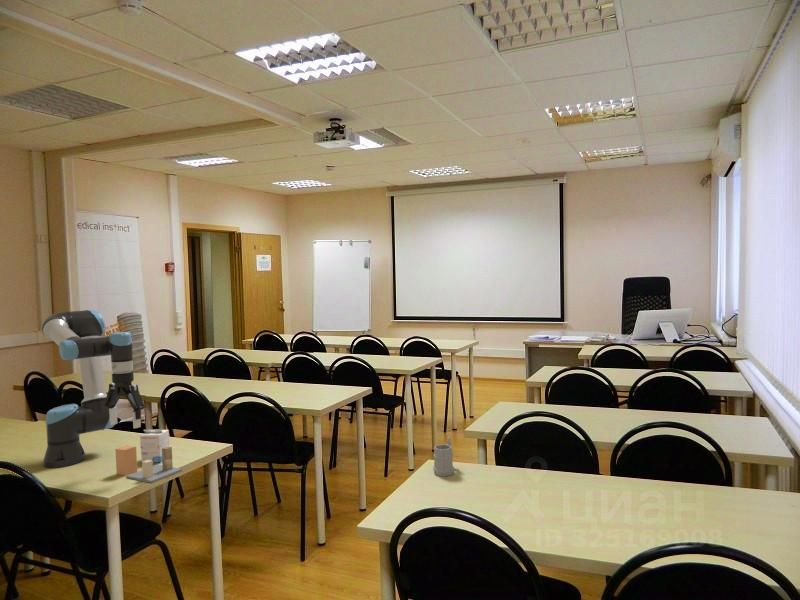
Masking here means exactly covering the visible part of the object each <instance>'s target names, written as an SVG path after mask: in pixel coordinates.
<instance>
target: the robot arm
mask: <svg viewBox="0 0 800 600" xmlns="http://www.w3.org/2000/svg"><path fill="white" fill-rule="evenodd" d="M41 332H42V335H43V336H44V338H46V339H47V340H49V341H52V342H54V343H55V344H56V345H57V346H58V352H59V353H58V354H59V356H60V359H62V360H63V361H66V360H67V361H68V360H71V361H72V360H73V361H74V360H78V362H79V363H78V364H79V370H80V376H81V383H82V390H83V391H82V392H83V397H84V398H83V399H82V400H81V402H80V405H81V406H79V405H78V404H76V403H69V404H62V405H60V406H57V407H53V408H52V409H49V410H48V411H47V412H46V416H45V425H46V426H45V427H46V440H47V442H46V443H47V444H46V446H47V447H46V451H45V454H44V457H43V461H42V464H43V467H45V468H63V467H68V466H73V465H76V464H79V463H81V462H84V461H85V459H86V453H85V450H84V447H83V445H82V444H81V443H82V442H81V441H80V435H82V434H83V435H84V434H87V433H93V432H98V431H104V430H108V429H111V428H113V427H114V426H115V425H117V424H118V405H117V403H118V402H119V400H120V398H121V396H122V397H124V398H125V399H126V400H127V401H128V402H129V404H130V406H131V409H133V410H132V426H133V427H132V428H133V429H138V428H141V427H142V426H141V425H142V424H141V423H142V422H141V418H142V413H141V412H142V410H144V409H145V407H146V406H145V403H144V401H143V398H142V396H141V394H140V390H139V385H138V384H132V382H133V381H134V380H135V379H134V372H133V370H134V359H133V338H132V334H131V332H129V331H120V332H119V331H117V332H112V333H110V335H107V336H103V335H105V333H106V324H105V319H104V317H103V315H102V314H101V312H100V311H98V310H95V309H94V310H89V309H86V310H76V311H75V310H73V311H72V310H71V311H59V312H56V313H52V314H51V315H49V316H47V318H46V319H44V321H43V323H42V324H41ZM106 356H110V362H111V372H112V373H111V381H112V383H109V384H108V391H107V389H106V382H105V376H104V370H103V364H102V363H103V362H102V357H106Z"/></svg>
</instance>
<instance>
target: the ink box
mask: <svg viewBox="0 0 800 600" xmlns="http://www.w3.org/2000/svg"><path fill="white" fill-rule="evenodd" d="M143 432H144V433H142V434H140V435H139V442H140V443H139V444H140V445H139V446H140V455H141V457H140V458H141V463H142V462H143V461H146V460H153V464H154V463H157V464H158V463H159V464H160V463H162V448H164V447H171V446H170V444H171V443H170V435H169V434H170V433H169V432H170V430H169V429H160V428H159V429H158V428H157V429H156V428H155V429H150V428H149V429H143Z"/></svg>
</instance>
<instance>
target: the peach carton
mask: <svg viewBox="0 0 800 600" xmlns="http://www.w3.org/2000/svg"><path fill="white" fill-rule="evenodd" d="M114 449H115V469H116V475H119V476H123V477H126V476H127V475H130V474H133V473H135V472H138V460H137V459H138V457H137V446H135V445H129V444H127V445H123V446H120V447H116V448H114Z"/></svg>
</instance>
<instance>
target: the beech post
mask: <svg viewBox="0 0 800 600" xmlns="http://www.w3.org/2000/svg"><path fill="white" fill-rule="evenodd" d="M172 447H173V446H172ZM172 447H171V446H170V447H164V448H162V462H161V463H162V464H161V465H162V467H163V470H166V471H168V470H171V469H173V467H174V466H173V463H174V462H173V448H172Z"/></svg>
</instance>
